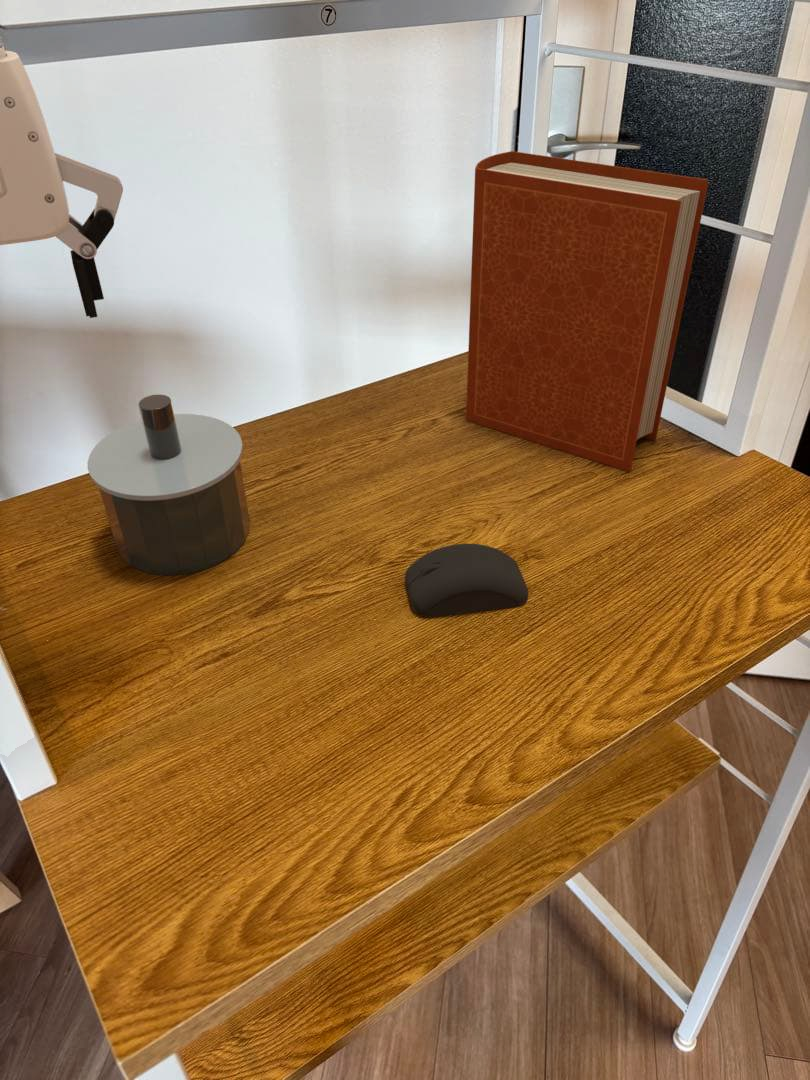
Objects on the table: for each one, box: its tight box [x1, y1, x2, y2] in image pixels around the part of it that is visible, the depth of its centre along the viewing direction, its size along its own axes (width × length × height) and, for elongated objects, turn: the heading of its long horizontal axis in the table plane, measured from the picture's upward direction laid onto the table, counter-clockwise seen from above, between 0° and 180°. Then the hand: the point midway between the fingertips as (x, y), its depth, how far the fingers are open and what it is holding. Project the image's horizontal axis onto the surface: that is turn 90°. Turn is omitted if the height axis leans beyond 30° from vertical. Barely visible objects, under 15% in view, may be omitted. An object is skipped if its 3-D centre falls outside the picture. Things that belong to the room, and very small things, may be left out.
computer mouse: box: [404, 543, 529, 618], centre depth 79 cm, size 6×11×4 cm, turn 99°
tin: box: [98, 461, 251, 576], centre depth 84 cm, size 14×14×10 cm
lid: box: [87, 394, 244, 501], centre depth 80 cm, size 15×15×7 cm
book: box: [465, 150, 710, 473], centre depth 94 cm, size 23×8×30 cm, turn 56°
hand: (18, 321), depth 57 cm, fingers open, 9 cm apart
